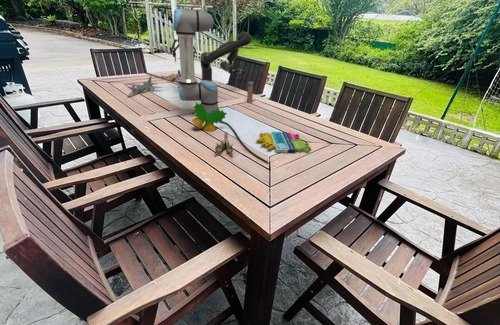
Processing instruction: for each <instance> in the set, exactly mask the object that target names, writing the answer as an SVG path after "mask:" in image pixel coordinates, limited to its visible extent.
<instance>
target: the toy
mask: <svg viewBox="0 0 500 325" xmlns="http://www.w3.org/2000/svg"><path fill="white" fill-rule="evenodd" d="M160 77H161V78H160V79H162V78H166V79H165V80H166V81H169V82H172V81H171V80H177V81H179V80H180V79H181V69H178V70H177V74H176V73H171V74H169V75H168V76H163V75H160Z"/></svg>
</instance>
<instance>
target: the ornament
mask: <svg viewBox="0 0 500 325" xmlns="http://www.w3.org/2000/svg"><path fill="white" fill-rule="evenodd" d="M219 110H220V108H219V109H217V110H216V111H214V110H212V112H211V113H208V112H206V109H204V106H201V103H198V102H196V101H195V105H194V106H193V112H194V113H195V118H192V119H191V122H192V123H193V125H195V127H197V128H198V129H202V130H203V131H206V132H212V131H213V132H214V131H215V130H216V126H215V124H218V123H222V121H223V119H226V115H227V114H228V113H227V112H224V110H223V109H221V110H220V111H219ZM207 113H208V115H207ZM219 121H221V122H219ZM214 123H215V124H214Z"/></svg>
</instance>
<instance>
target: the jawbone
mask: <svg viewBox="0 0 500 325" xmlns="http://www.w3.org/2000/svg"><path fill="white" fill-rule="evenodd" d="M223 135H224V136H223V140H222V139H221V142H220V144H218V142H215V144H216V146H215V148H214V149H215V152H214V154H215V155H217V156H218V155H220V153H221V152H223V151H224V150H226V152H227V153H228V155H229V156H233V155H234V154H233V153H234V148H233V144H234V143H230V140H228V139H229V138H228V137H229V136H228V135H229V133H228V131H226V132H224V134H223Z"/></svg>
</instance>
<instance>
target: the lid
mask: <svg viewBox="0 0 500 325" xmlns="http://www.w3.org/2000/svg"><path fill="white" fill-rule="evenodd" d="M246 84H247V86H248V85H250V86H253V87H254V86H255V82H254V81H247V83H246Z"/></svg>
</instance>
